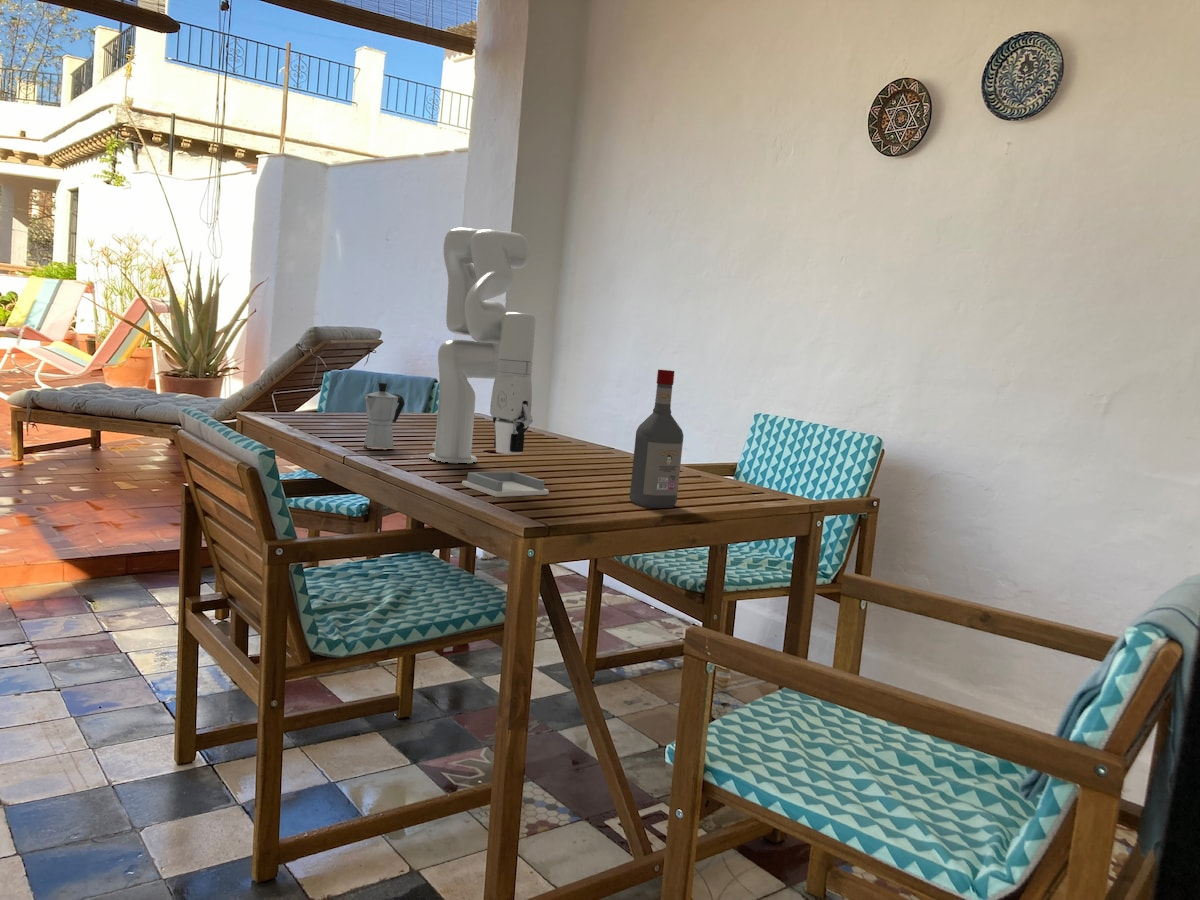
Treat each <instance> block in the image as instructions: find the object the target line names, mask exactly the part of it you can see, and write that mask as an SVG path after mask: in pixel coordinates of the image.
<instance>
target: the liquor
mask: <svg viewBox="0 0 1200 900" xmlns="http://www.w3.org/2000/svg"><path fill="white" fill-rule="evenodd" d="M656 375H657V377H656V391H655V392H656V393H655V400H654V401H655V402H654V407H653V409H652V413H651V414H650V415H649V416H648V417H647V418H645V419H644V421H643V422H641V423H640V424H639V426H638V427H637V429H636V431H635V440H634V449H633V461H632V470H631V471H632V472H631V478H630V479H631V480H630V492H629V500H630V503H633V504H635V505H638V506H641V507H644V508H651V509H673V508H674V507H675V505H676V504H677V502H678V492H679V483H680V472H681V464H682V463H681V462H682V454H683V444H684V433H683V429H682V427H681V426H680V425H679V424H678V423H677V421H676V420H675V418H674V416H673V415H672V409H671V407H672V406H671V405H672V396H673V395H672V393H673V385H674V381H675V380H674V379H675V370H670V369H669V370H668V369H657V374H656Z"/></svg>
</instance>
